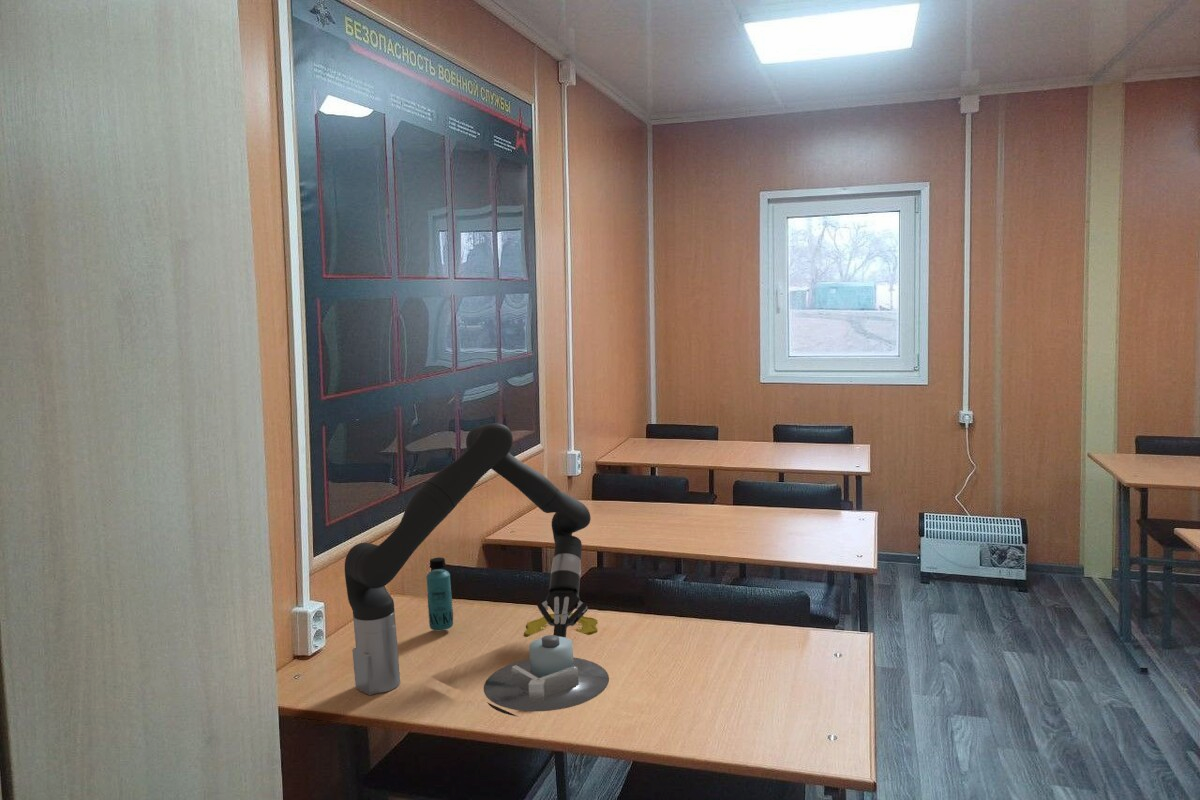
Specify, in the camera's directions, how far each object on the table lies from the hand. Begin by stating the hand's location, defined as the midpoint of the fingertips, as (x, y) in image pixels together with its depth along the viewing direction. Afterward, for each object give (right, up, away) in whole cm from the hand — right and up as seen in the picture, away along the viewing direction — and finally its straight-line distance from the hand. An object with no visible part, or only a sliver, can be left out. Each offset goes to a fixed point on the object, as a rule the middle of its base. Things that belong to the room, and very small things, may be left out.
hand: (559, 640), depth 214 cm
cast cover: (-1, -4, -9) cm, 10 cm away
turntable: (-2, -6, -15) cm, 17 cm away
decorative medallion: (0, -3, +21) cm, 21 cm away
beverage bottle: (-32, -4, +22) cm, 39 cm away
